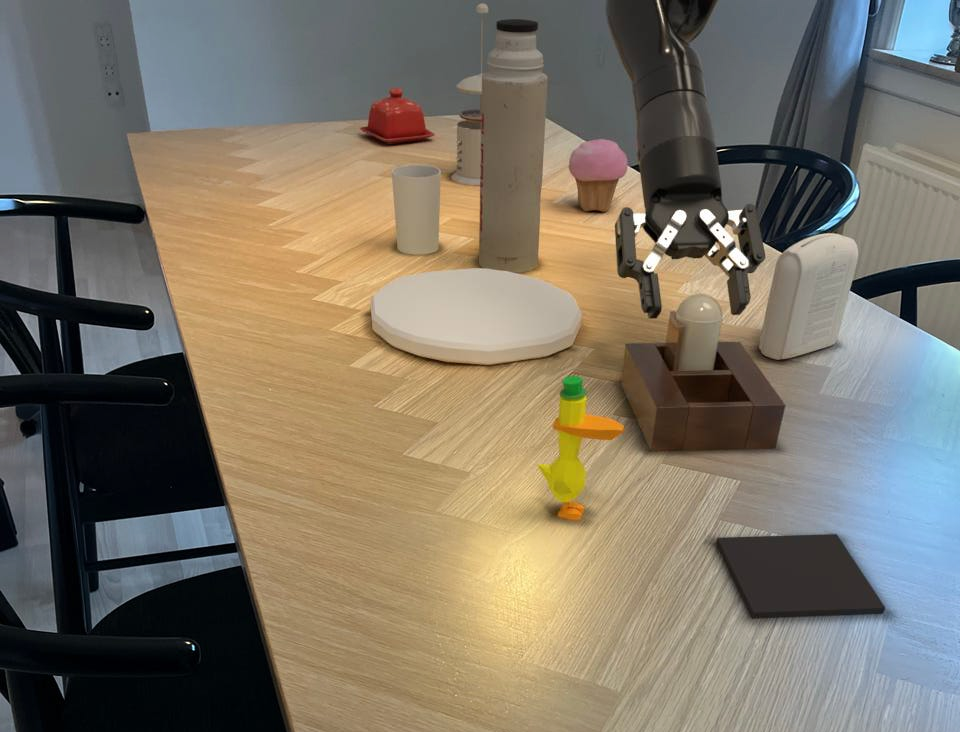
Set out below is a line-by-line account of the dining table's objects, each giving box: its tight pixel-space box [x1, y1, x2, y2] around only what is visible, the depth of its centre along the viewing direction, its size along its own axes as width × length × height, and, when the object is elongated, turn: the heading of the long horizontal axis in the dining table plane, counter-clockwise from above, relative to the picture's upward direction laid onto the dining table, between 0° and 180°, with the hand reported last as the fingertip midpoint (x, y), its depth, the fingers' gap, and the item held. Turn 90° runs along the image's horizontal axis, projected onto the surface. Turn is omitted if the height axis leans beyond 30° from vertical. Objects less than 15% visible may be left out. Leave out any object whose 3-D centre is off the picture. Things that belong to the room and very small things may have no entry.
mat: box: [715, 533, 886, 619], centre depth 76 cm, size 10×10×1 cm
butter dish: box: [359, 87, 436, 145], centre depth 185 cm, size 12×12×8 cm
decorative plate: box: [370, 267, 583, 366], centre depth 114 cm, size 25×4×25 cm
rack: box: [620, 341, 786, 453], centre depth 96 cm, size 12×15×4 cm
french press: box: [450, 3, 489, 186], centre depth 159 cm, size 10×12×25 cm
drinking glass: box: [391, 164, 442, 255], centre depth 133 cm, size 7×7×10 cm
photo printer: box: [758, 232, 859, 361], centre depth 107 cm, size 10×4×12 cm, turn 125°
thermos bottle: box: [478, 18, 549, 274], centre depth 123 cm, size 8×8×28 cm
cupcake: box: [568, 138, 628, 213], centre depth 149 cm, size 9×9×10 cm
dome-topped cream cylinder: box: [663, 293, 724, 371], centre depth 97 cm, size 5×4×11 cm
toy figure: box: [536, 375, 625, 521], centre depth 79 cm, size 7×4×12 cm, turn 76°
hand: (697, 313), depth 95 cm, fingers open, 8 cm apart
